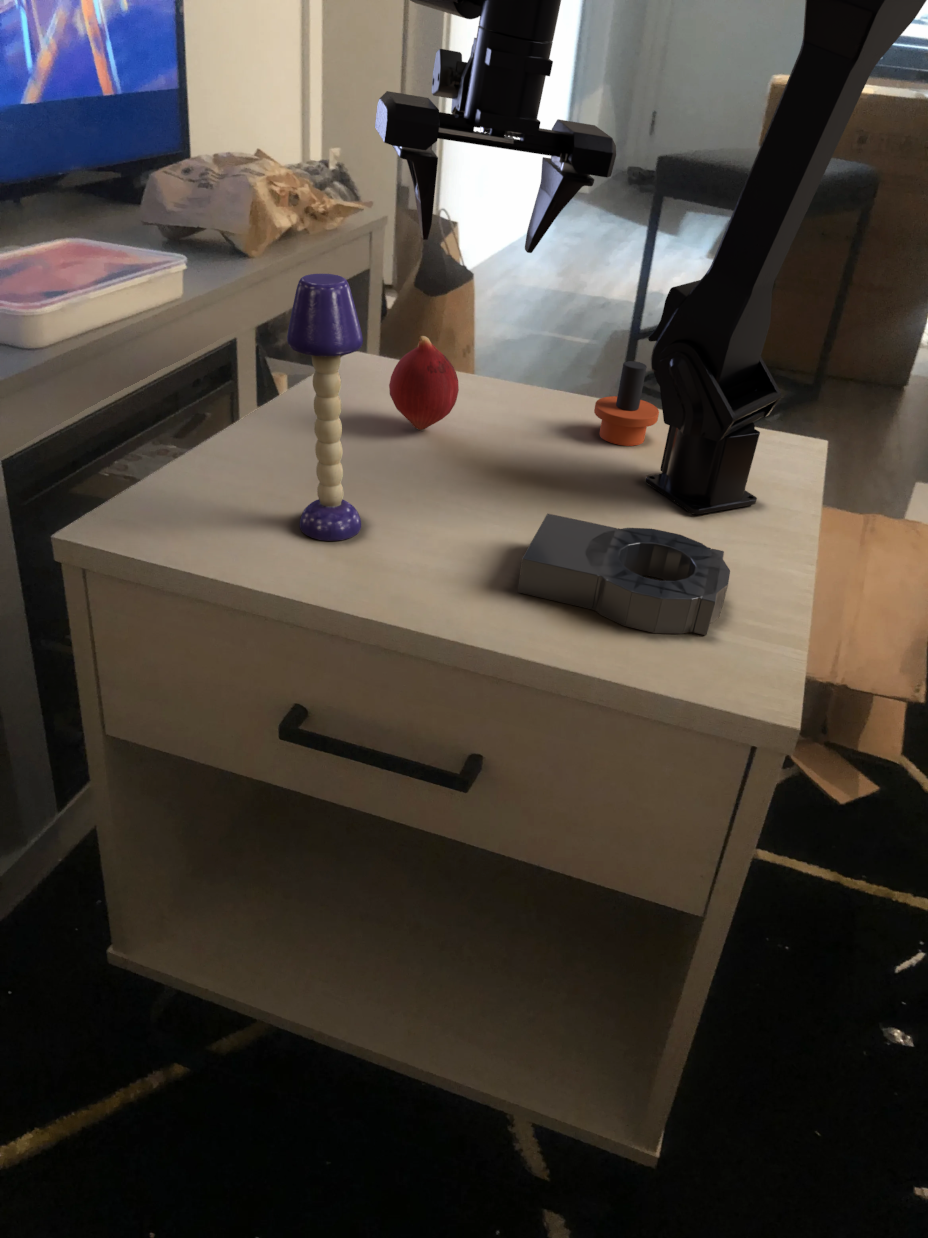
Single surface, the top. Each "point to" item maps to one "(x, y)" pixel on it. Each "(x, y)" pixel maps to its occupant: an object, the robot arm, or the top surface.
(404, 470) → the top surface
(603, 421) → the stopper
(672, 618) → the plate
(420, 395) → the onion
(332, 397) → the toy lamp
